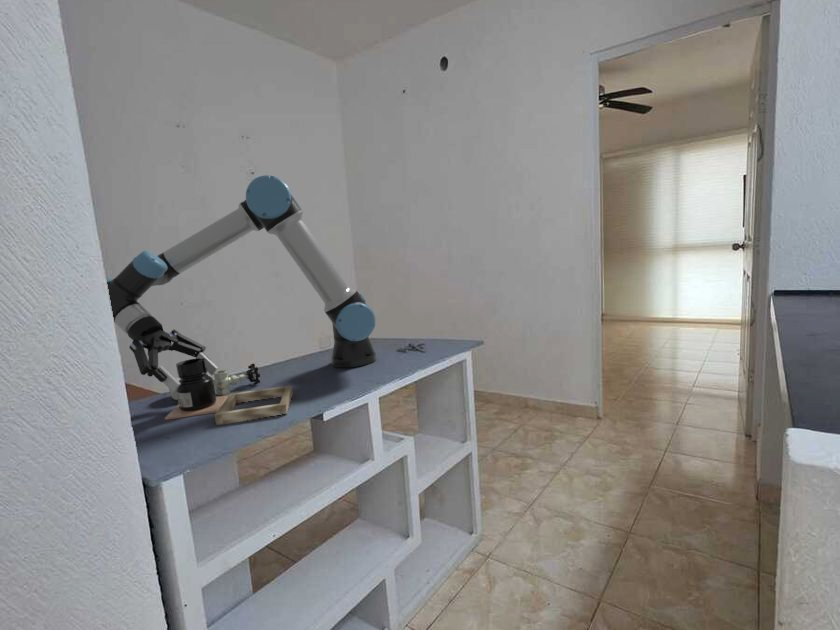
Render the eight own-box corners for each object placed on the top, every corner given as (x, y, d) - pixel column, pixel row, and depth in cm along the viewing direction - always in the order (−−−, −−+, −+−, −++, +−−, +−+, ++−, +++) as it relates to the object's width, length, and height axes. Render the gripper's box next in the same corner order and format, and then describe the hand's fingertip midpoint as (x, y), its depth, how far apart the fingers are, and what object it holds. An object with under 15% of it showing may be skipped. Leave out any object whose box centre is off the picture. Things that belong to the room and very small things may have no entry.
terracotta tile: (227, 397, 122) (227, 395, 122) (216, 412, 110) (216, 410, 110) (181, 403, 120) (181, 401, 119) (165, 419, 108) (165, 417, 108)
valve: (221, 398, 122) (261, 386, 130) (217, 375, 121) (258, 364, 129) (212, 393, 127) (252, 382, 135) (209, 372, 126) (249, 362, 134)
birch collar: (293, 393, 119) (291, 385, 119) (287, 414, 104) (285, 404, 104) (231, 402, 117) (230, 393, 116) (216, 425, 101) (214, 415, 101)
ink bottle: (178, 405, 116) (170, 362, 115) (213, 396, 121) (206, 355, 119) (181, 415, 108) (173, 368, 107) (219, 405, 113) (212, 361, 111)
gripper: (170, 326, 128) (222, 374, 126) (88, 346, 104) (151, 406, 102) (182, 307, 126) (235, 356, 124) (101, 323, 102) (165, 384, 100)
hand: (197, 379), depth 113 cm, fingers open, 13 cm apart
